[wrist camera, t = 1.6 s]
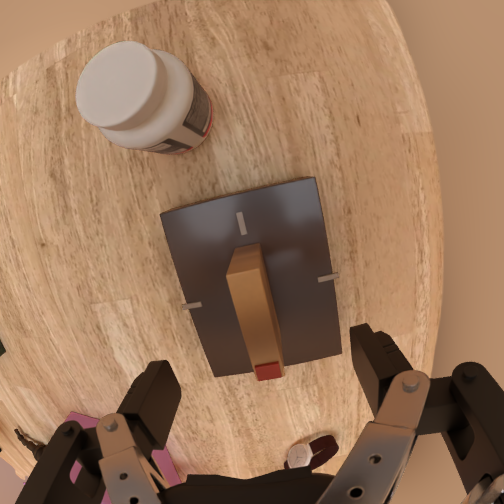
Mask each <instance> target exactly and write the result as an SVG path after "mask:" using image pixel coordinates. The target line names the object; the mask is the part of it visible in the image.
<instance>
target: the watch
mask: <svg viewBox="0 0 504 504" xmlns="http://www.w3.org/2000/svg"><path fill="white" fill-rule="evenodd" d="M323 449H324V450H323ZM338 449H339V446H338V445H337V443H336V441H335V439H334V437H333V436H332V435H326V436H322V437H320V438H318V439H316V440H314V441H312V442H310V443H307V444H296V445H294V446H293V447H292V448H291V449H290V451H289V454H288V458H287V460H286V461H285V463H284V468H285V469H290V468H297V467H303V466H309V465H311V470H314V469H315V468H317V467H319V466H321V465H323V464H324V463H326V462H327V461H328V460H329V459H330V458H332V457H333V456H334V455H335V454H336V453H337V451H338ZM321 450H323V451H321ZM319 451H321V452H320V453H319V454H317V455H315V456H314V457H313V458H311V456H313V455H314V454H315V453H317V452H319Z"/></svg>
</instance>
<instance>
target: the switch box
mask: <svg viewBox="0 0 504 504" xmlns="http://www.w3.org/2000/svg"><path fill="white" fill-rule="evenodd" d="M5 352H6V351H5V349H4V347H3V345H2V343H1V341H0V356H1V355H2V354H4V353H5Z"/></svg>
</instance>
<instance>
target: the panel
mask: <svg viewBox="0 0 504 504" xmlns="http://www.w3.org/2000/svg"><path fill="white" fill-rule="evenodd" d="M160 217H161V221H162V225H163V228H164V232H165V235H166V239H167V242H168V245H169V249H170V252H171V255H172V259H173V262H174V265H175V268H176V271H177V275H178V278H179V281H180V284H181V287H182V290H183V293H184V296H185V299H186V302H187V304H182V308H183V310H185V309H189V310H190V313H191V316H192V319H193V322H194V325H195V327H196V330H197V333H198V336H199V338H200V341H201V344H202V346H203V349H204V352H205V354H206V357H207V359H208V362H209V364H210V367H211V369H212V372H213V374H214V377H221V376H229V375H236V374H243V373H250V372H254V370H253V367H252V364H251V361H250V357H249V354H248V351H247V347H246V344H245V341H244V337H243V334H242V331H241V327H240V324H239V320H238V317H237V314H236V310H235V307H234V303H233V300H232V296H231V293H230V289H229V286H228V282H227V279H226V274H227V271H228V268H229V265H230V262H231V259H232V256H233V253H234V250H235V248H238V247H243V246H247V245H252V244H256V243H260V246H261V250H262V255H263V259H264V263H265V267H266V272H267V276H268V280H269V285H270V289H271V293H272V298H273V302H274V306H275V311H276V315H277V319H278V324H279V328H280V334H281V343H282V353H283V362H284V366H290V365H295V364H299V363H304V362H309V361H313V360H318V359H322V358H326V357H330V356H335V355H339V354H342V346H341V336H340V327H339V318H338V310H337V302H336V294H335V287H334V279H336V278H339V274H338V272H336V273H332V266H331V259H330V253H329V247H328V241H327V235H326V230H325V224H324V219H323V213H322V208H321V203H320V198H319V193H318V188H317V183H316V179H315V177H311V176H307V177H302V178H297V179H292V180H287V181H283V182H278V183H273V184H269V185H264V186H260V187H255V188H251V189H247V190H243V191H238V192H234V193H230V194H226V195H222V196H218V197H214V198H210V199H206V200H202V201H199V202H195V203H191V204H187V205H184V206H180V207H176V208H173V209H170V210H167V211H165V212H163V213H161V214H160Z"/></svg>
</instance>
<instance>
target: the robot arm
mask: <svg viewBox="0 0 504 504" xmlns="http://www.w3.org/2000/svg"><path fill="white" fill-rule="evenodd" d="M350 342H351V355H352V362H353V366H354V369H355V372H356V374H357V377H358V379H359V381H360V384H361V386H362V388H363V391H364V393H365V396H366V398H367V400H368V403H369V405H370V408H371V410H372V413H373V415H374V418H375V419H374V421H373V422H372V421H369V422H368V423H367V424H366V426H365V427H364V429H363V431H362V433H361V435H360V436H359V438H358V440H357V442H356V443H355V445H354V447H353V448H352V450H351V452H350V453H349V455H348V457H347V458H346V460H345V462H344V463H343V465H342V466H341V468H340V469H339V471H338V472H337V474H336V476H334V475H330V474H324V473H312V470H311V465H309V466H303V467H297V468H290V469H283V470H278V471H275V472H271V473H268V474H265V475H262V476H258V477H255V478H251V479H237V478H231V477H226V476H220V475H193V474H188V476H187V480H186V482H184V483H180V484H177V485H174V486H170V485H169V483H168V481H167V480H166V478H165V476H164V475H163V473H162V471H161V469H160V467H159V466H158V464H157V462H156V460H155V458H154V457H153V456H152V451H153V450H164V447H165V444H166V441H167V438H168V435H169V432H170V429H171V426H172V423H173V420H174V417H175V414H176V411H177V408H178V405H179V402H180V399H181V388H180V385H179V383H178V381H177V379H176V376H175V374H174V372H173V370H172V368H171V366H170V364H169V362H168V361H167V360H160V361H151V362H150V363H149V364H148V366H147V368H146V370H145V372H142V373H141V374H140V375H139V376H138V377H137V378H136V379H135V380H134V382H133V383H132V385H131V388H130V389H129V390H128V392H127V393H128V394H126V396H125V398H124V399H123V401H122V403H121V405H120V407H119V408H118V410H117V412H116V413H112V414H108V415H106V416H104V417H103V418H101V419H100V420H99V421H98V423H97V425H96V427H91V428H85V429H83V427H82V426H81V425H80V423H79V422H78V421H75V420H70V421H67V422H64V423H63V424H61V425H60V426H59V427H58V428H57V430H56V432H55V433H54V435H53V436H52V438H51V440H50V441H49V443H48V445H47V446H46V448H45V450H44V452H43V453H42V455H41V457H40V458H39V460H38V462H37V464H36V465H35V467H34V469H33V471H32V473H31V474H30V476H29V478H28V480H27V482H26V483H25V485H24V487H23V489H22V491H21V493H20V495H19V497H18V499H17V501H16V503H15V504H101V502H102V499H103V497H104V494H105V491H106V489H107V492H108V495H109V498H110V501H111V503H112V504H389V503H390V501H391V499H392V497H393V495H394V494H395V491H396V489H397V487H398V485H399V483H400V480H401V478H402V475H403V473H404V471H405V468H406V466H407V463H408V461H409V459H410V456H411V454H412V451H413V448H414V446H415V444H416V440H417V438H418V435H425V434H432V433H439V432H441V434H442V437H443V439H444V441H445V443H446V445H447V447H448V450H449V452H450V454H451V456H452V459H453V461H454V463H455V465H456V468H457V470H458V473H459V475H460V478H461V480H462V483H463V485H464V488H465V490H466V493H467V496H466V498H465V499H464V500H463V501H462V502H461V504H504V391H503V390H502V389H501V387H500V386H499V385H498V383H497V382H496V381H495V380H494V378H493V377H492V376H491V375H490V373H489V372H488V371H487V370H486V369H485V367H484V366H482V365H481V364H479V363H476V362H465V363H461V364H459V365H458V366H457V367H456V368H455V369H454V370H453V373H452V376H450V377H443V378H436V379H432V378H429V377H428V376H427V375H426V374H425V373H423V372H421V371H417V370H414V369H413V368H412V366H411V365H410V363H409V362H408V361H407V359H406V358H405V356H404V355H403V353H402V352H401V351H400V350H399V348H398V346H397V345H396V344H395V342H394V341H393V339H392V338H391V336H390V335H388V334H386V333H384V332H382V331H378V332H375V333H374V332H373V331H372V329H371V328H370V326H369V325H368V324H367V323H364V324H361V325H357V326H353V327H350ZM75 461H77V462H78V463H79V464H80V465H81V466H82V467H81V470H80V472H79V474H78V476H77V478H76V481H75V483H73V482H72V481H71V479H70V471H71V469H72V467H73V465H74V463H75Z"/></svg>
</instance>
